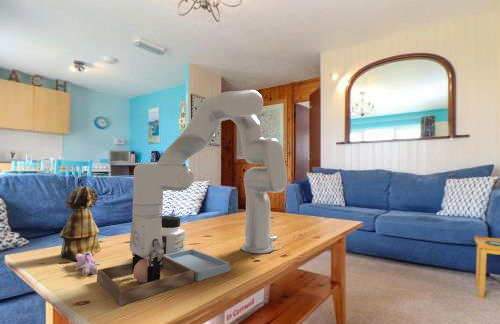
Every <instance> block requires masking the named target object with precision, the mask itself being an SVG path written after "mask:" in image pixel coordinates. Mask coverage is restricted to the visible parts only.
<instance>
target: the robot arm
mask: <svg viewBox="0 0 500 324" xmlns="http://www.w3.org/2000/svg"><path fill="white" fill-rule="evenodd" d="M263 109H264V98H263V96H262V94H261V93H259V92H258V91H257V90H254V89H245V90H233V91H225V92H220V93H217V94H214V95H210V96H207V97H206V98H204V99H203V100H202V101H201V102H200V104H199V106H198V108H197V109H196V111H195V112H194V114H193V115H192V117H191V119H190V121H189V123H188V124H187V126H186V127H185V129H184V131H183V132H182V133H181V134H180V135H178V137H177V138H176V139H175V140H174V141H173V142H172V143H171V144H169V146H168V147H167V148H166V149H165V151H164V152H163V154H162V155H161V156H160V158H159V159H158V161H157V163H156V164H150V163H148V164H147V163H146V164H145V163H144V164H137V165H135V167H134V169H133V186H132V188H133V190H132V214H131V215H132V221H131V229H130V238H129V239H130V240H129V250H130V252H132V253H131V256H132V257H131V259H132V260H131V262H132V271H134V267H135V265H136V264H137V263H138V262H139V261H140V260H142V259H145V258H147V259H148V262H149V266H148V269H147V282H146V283H148V282H152V281H155V280H159V279H161V272H162V271H161V267H162V266H161V264H162V259H163V254H164V250H163V248H162V223H161V220H162V216H163V211H164V209H163V208H164V206H163V205H164V191H172V192H174V191H175V192H182V191H186V190H187V189H190V187H191V186H192V184H193V183H194V179H195V177H194V173H193V171H192V170H191V169H190V168H189V167H188V166H187V165H184V164H185V162H187V160H188V159H189V158H191V157H192V156H194V155H195V154H197V153H199V152H200V151H202V150H204V149H205V148H206V147H208V146H209V144H210V143H211V141H212V140H213V138H214V135H215V133H216V132H217V129H218V127H219V126H220V124H221V122H223V121H228V120H231V121H232V122H233V123H234V124H235V125H236V127H237V128H238V131H239V135H240V142H241V148H242V153H243V158H244V160H245V162H246V163H248V164H251V165H265V166H254V167H251V168H249V169H247V170H246V172H245V173H244V175H243V184H244V185H243V186H244V192H245V239H244V242H245V243H242V244H241V246H240V249H241V250H242V251H243V252H245V253H248V254H249V253H250V254H267V253H272V252H273V251H274V250H275V246H274V245H273V244H272V243H273V242H275V241H277V240H278V237H277V235H274V236H271V199H270V196H269V194H268V193H273V194H274V193H275V194H279V193H282V192H283V191H284V190H286V188H287V185H288V173H287V165H286V160H285V159H286V158H285V152H284V148H283V145H282V143H281V142H280V141H279V140H278V139H277V138H275V137H264V135H263V128H262V125H261V122H260V120H259V119H258V118H257V116H256V115H259V114H260V113H261V112H262V110H263ZM153 257H154V259H153V261H152V258H153Z"/></svg>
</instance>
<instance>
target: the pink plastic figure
mask: <svg viewBox="0 0 500 324" xmlns="http://www.w3.org/2000/svg"><path fill="white" fill-rule="evenodd" d="M76 259H77V260H76V262H75V267H76V268H75V271H77V270H79V269H80V270H81V269H82V270H81V274H82V275H83V276H84V278H87V277H88V276H89V275H94V276H96V275H97V270H98V268H97V267H98V266H101V263H96V262H97V261H96V259H95V258H94V257H93V255H92V254H91V253H90V252H86V253H84V255H82V254H76Z"/></svg>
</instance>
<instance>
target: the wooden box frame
mask: <svg viewBox="0 0 500 324" xmlns="http://www.w3.org/2000/svg"><path fill="white" fill-rule="evenodd" d="M154 257H155V256H154ZM154 257H152V259H154ZM161 267H163V268H165V269H166V270H168V271H170V272H171V273H173V275H169V276H165V277H164V278H163V277H162V278H160V279H159V280H155V281H152V282H146V283H141V284H138V285H134V286H131V287H127V288H124V289H123V288H122V287H121V286H120V285H118V284H117V283H116V282H115V281H114V280H113V279H115V278H119V277H120V278H121V277H123V276H128V275H132V274H133V271H132V261H131V262H126V263H122V264H118V265H113V266H109V267H104V268H99V269H97V274H96V282H97V283H98V284H99V285H100V286H101V287H102V288H103V289H104V291H106V292H107V294H108V295H109V296H110V297H111V298H112V299H113V300H114V302H116V304H117V305H119V306H124V305H126V304H130V303H133V302H137V301H140V300H142V299H146V298H148V297H151V296H155V295H158V294H161V293H164V292H167V291H170V290H173V289H177V288H180V287H182V286H185V285H189V284H192V283H194V280H195V279H194V270H192V269H190V268H188V267H186V266H184V265H182V264H180V263H178V262H176V261H174V260H172V259H170V258H168V257H166V256H164V255H163V259H162V264H161Z"/></svg>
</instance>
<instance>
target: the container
mask: <svg viewBox="0 0 500 324" xmlns="http://www.w3.org/2000/svg"><path fill="white" fill-rule="evenodd" d="M161 223H162V248H163V250H164V254H163V255H167V254H171V253H176V252H180V251H185V241H186V240H185V237H186V236H185V235H186V234H185V233H186V230H185V229H181V217H180V216H178V215H165V216H163V217H161Z"/></svg>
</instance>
